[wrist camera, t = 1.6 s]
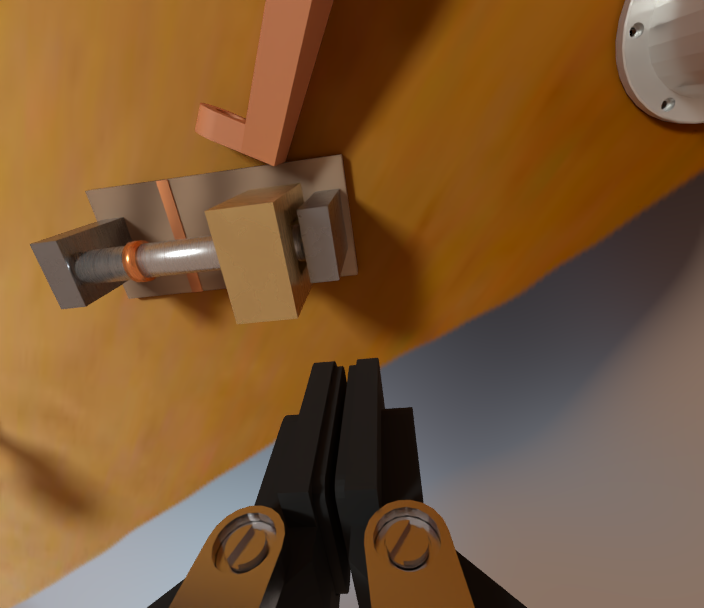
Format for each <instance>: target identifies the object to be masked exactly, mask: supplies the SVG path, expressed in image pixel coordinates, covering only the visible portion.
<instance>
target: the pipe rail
mask: <svg viewBox="0 0 704 608" xmlns="http://www.w3.org/2000/svg"><path fill="white" fill-rule="evenodd" d="M297 215H298V220H299V225H291V230H292V235H293V240H294V245H295V250H296V255H297V260H298V261H305V260H306V262H307V267H308V272H309V277H310V282H311V283H317V282H327V281H336V280H340V276H341V272H342V269H343V265H344V261H345V258H346V254H347V250H348V244H347V237H346V230H345V223H344V216H343V209H342V202H341V195H340V188H339V189H331V190H324V191H316V192H314V193H313V194H312V195H311V196H310V197H309V198H308V199H307V200H306V201H305V202H304V203H303V204H302V205H301V206H300V207H299V208H298V209H297ZM30 246H31V248H32V250H33V252H34V254H35V256H36V258H37V260H38V262H39V264H40V266H41V268H42V270H43V272H44V275H45V277H46V279H47V281H48V283H49V285H50V287H51V289H52V291H53V293H54V295H55V297H56V299H57V301H58V303H59V305H60V307H61V309H67V308H77V307H86V306H88V305H89V304H91V303H92V302H94V301H96V300H97V299H99V298H101V297H102V296H104V295H106V294H107V293H109V292H111V291H112V290H114V289H115V288H117V287H119V286H120V285H122V284H124V283H125V282H127V281H129V280H133V281H135V282H147V281H152V280H154V279H155V278H156V277H161V276H170V275H179V274H188V273H197V272H206V271H215V270H221V267H220V264H219V260H218V257H217V253H216V250H215V246H214V243H213V239H212V236H211V235H210V236H201V237H193V238H185V239H177V240H169V241H161V242H153V243H149V242H147V241H145V240H140V241H132V239H131V236H130V233H129V231H128V228H127V225H126V223H125V220H124V217H120V218H112V219H105V220H100V221H97V222H94V223H91V224H88V225H85V226H82V227H79V228H76V229H73V230H70V231H67V232H64V233H61V234H58V235H55V236H52V237H49V238H46V239H43V240H41V241H38V242H35V243H32V244H30Z"/></svg>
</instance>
